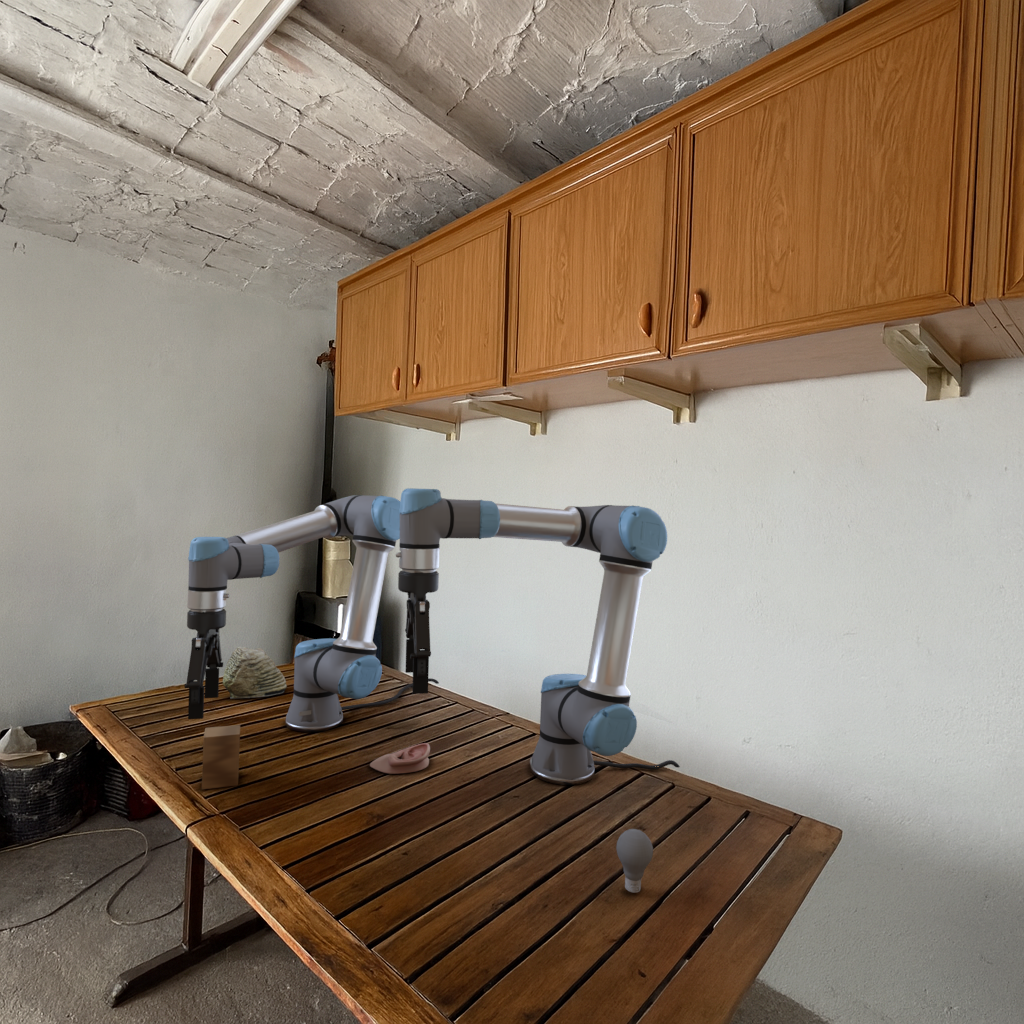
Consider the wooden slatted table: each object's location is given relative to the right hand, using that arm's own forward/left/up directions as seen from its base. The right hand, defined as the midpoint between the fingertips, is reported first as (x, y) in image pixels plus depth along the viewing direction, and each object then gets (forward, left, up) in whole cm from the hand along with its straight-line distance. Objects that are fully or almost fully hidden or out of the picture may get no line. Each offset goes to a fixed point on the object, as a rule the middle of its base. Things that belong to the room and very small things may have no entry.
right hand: (416, 682), depth 120 cm
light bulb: (-33, +27, -29) cm, 51 cm away
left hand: (+40, -31, -12) cm, 52 cm away
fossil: (+32, -93, -29) cm, 103 cm away
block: (+36, -32, -29) cm, 56 cm away
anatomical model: (-3, -31, -29) cm, 43 cm away
